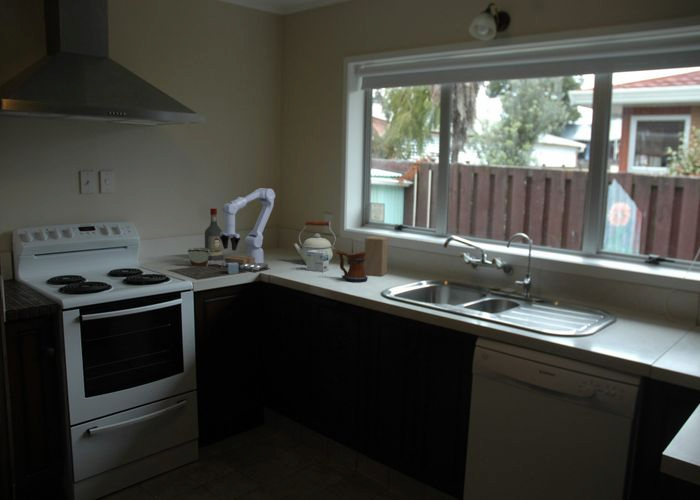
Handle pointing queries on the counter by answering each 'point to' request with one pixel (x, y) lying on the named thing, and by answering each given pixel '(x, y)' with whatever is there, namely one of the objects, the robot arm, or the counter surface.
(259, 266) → the roller track
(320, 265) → the light bulb box
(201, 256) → the food container
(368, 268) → the wooden block
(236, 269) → the block
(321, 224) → the kettle
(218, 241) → the liquor
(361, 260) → the mug
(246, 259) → the slab
